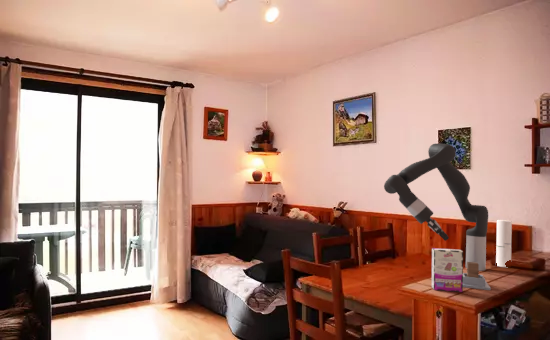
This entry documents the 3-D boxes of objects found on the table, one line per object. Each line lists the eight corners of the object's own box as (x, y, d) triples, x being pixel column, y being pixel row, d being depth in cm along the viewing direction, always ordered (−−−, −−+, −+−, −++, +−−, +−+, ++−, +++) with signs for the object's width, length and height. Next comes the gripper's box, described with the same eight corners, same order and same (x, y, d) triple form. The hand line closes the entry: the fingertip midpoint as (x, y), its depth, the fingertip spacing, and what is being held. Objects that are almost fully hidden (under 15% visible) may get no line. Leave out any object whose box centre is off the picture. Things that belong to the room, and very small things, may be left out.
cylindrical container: (513, 267, 211) (513, 221, 212) (498, 266, 212) (499, 220, 213) (508, 265, 218) (508, 220, 219) (494, 264, 219) (494, 219, 220)
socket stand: (456, 280, 176) (456, 271, 176) (485, 283, 172) (486, 274, 172) (458, 286, 165) (458, 277, 165) (490, 290, 160) (490, 280, 161)
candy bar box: (459, 289, 160) (460, 249, 161) (463, 292, 155) (463, 251, 156) (430, 287, 162) (431, 247, 163) (433, 290, 157) (434, 249, 158)
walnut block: (466, 281, 171) (467, 261, 171) (476, 282, 169) (477, 262, 170) (467, 283, 167) (468, 263, 167) (478, 284, 165) (478, 264, 166)
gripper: (426, 205, 169) (454, 234, 165) (425, 204, 183) (452, 231, 178) (413, 217, 171) (440, 246, 167) (413, 215, 184) (439, 241, 180)
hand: (446, 238), depth 173 cm, fingers open, 8 cm apart
